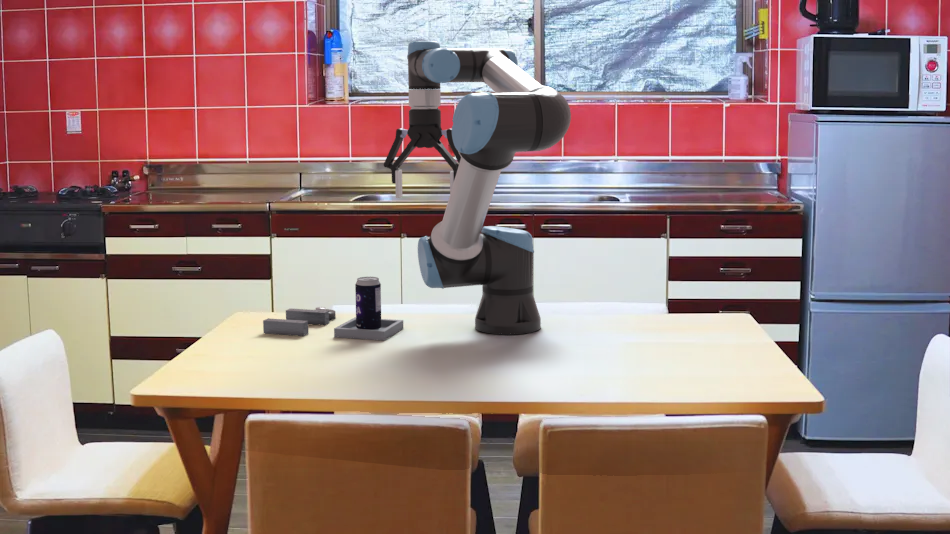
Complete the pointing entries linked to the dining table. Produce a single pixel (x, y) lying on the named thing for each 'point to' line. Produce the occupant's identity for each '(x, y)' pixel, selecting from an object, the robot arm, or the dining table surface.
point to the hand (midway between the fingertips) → (426, 198)
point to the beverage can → (368, 303)
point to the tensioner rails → (298, 321)
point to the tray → (351, 331)
